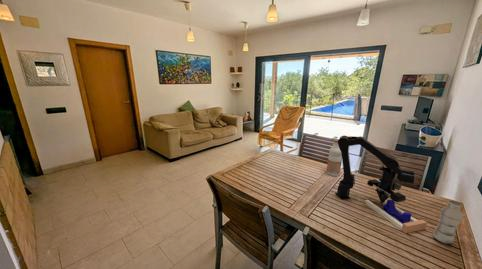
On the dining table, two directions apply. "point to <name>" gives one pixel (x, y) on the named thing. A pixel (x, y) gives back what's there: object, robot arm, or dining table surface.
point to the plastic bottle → (448, 222)
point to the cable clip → (396, 212)
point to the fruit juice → (334, 159)
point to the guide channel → (405, 227)
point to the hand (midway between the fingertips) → (382, 202)
